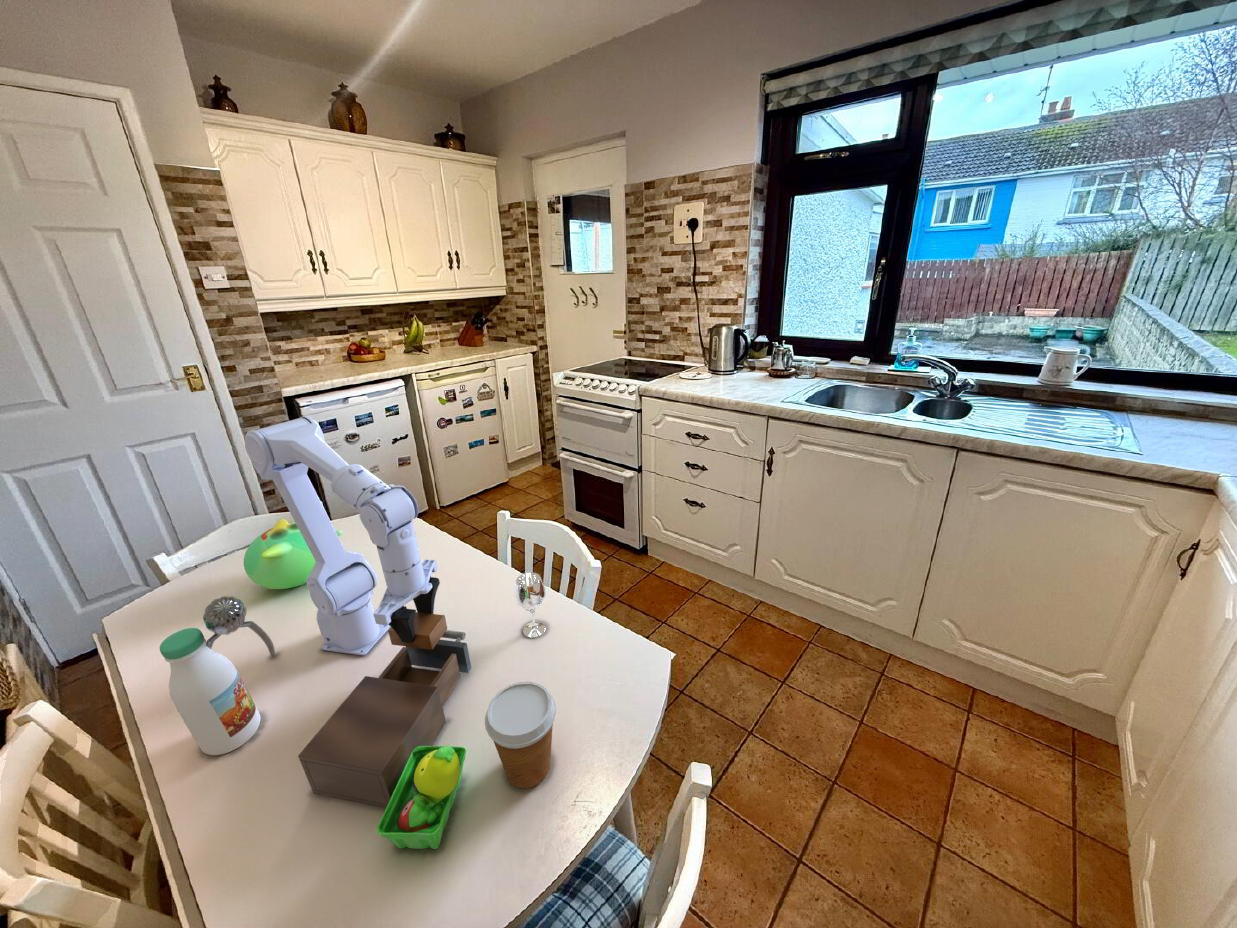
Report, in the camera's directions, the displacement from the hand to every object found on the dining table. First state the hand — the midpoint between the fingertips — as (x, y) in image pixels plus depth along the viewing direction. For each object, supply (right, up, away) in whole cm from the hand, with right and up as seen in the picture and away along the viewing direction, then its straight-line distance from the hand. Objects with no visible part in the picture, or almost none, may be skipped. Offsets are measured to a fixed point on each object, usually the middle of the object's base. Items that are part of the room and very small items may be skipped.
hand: (417, 629), depth 82 cm
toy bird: (-40, +1, +31) cm, 51 cm away
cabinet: (-1, -15, -10) cm, 18 cm away
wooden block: (0, -1, +1) cm, 2 cm away
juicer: (-37, -6, +6) cm, 38 cm away
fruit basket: (+10, -19, -18) cm, 27 cm away
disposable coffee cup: (+21, -16, -12) cm, 29 cm away
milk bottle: (-27, -14, -6) cm, 31 cm away
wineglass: (+17, -5, +14) cm, 23 cm away
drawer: (+2, -10, +1) cm, 10 cm away
